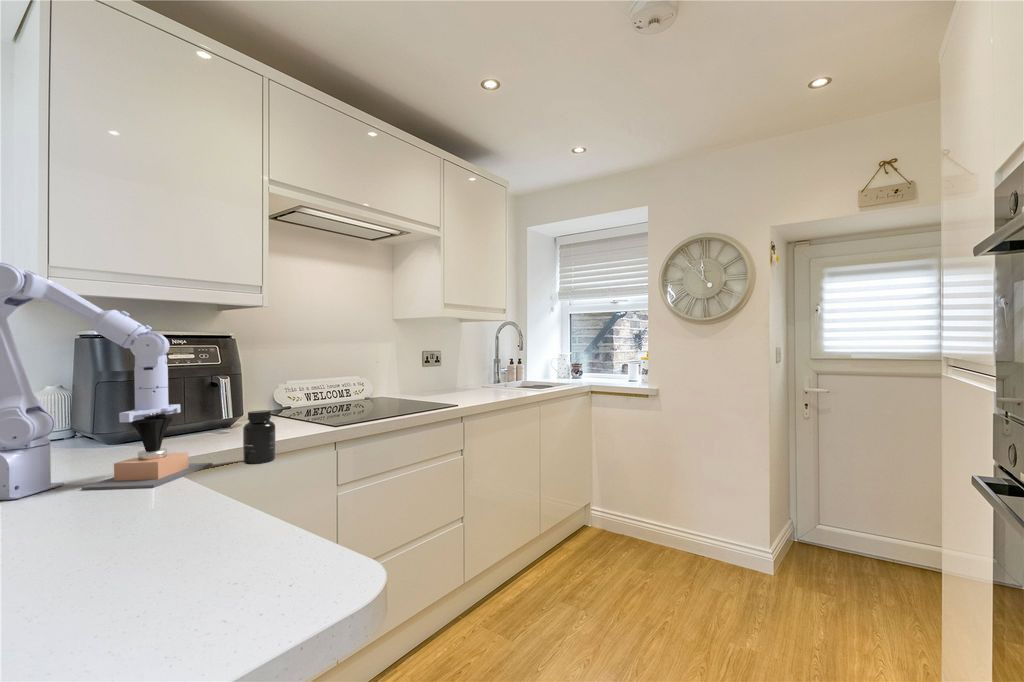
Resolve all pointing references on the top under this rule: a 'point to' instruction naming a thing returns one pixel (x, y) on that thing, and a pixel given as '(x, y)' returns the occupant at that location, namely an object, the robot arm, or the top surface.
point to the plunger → (152, 454)
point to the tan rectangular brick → (150, 467)
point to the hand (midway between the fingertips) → (152, 451)
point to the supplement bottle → (259, 438)
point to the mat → (145, 483)
